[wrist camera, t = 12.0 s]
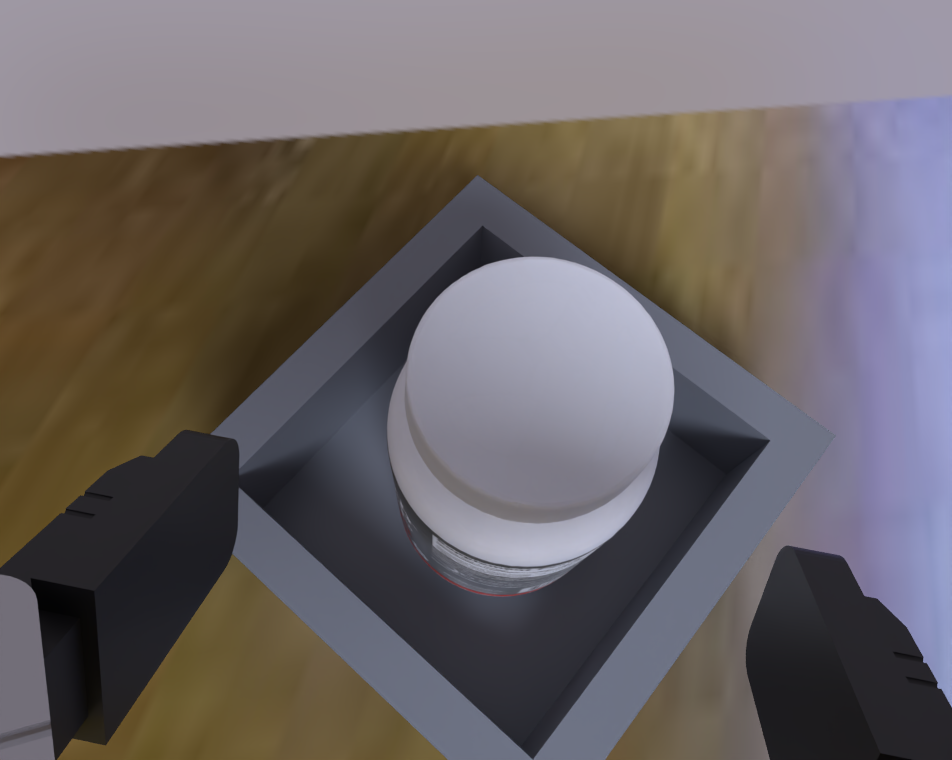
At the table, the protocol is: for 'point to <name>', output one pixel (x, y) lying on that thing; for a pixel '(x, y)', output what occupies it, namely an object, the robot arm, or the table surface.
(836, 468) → the table surface
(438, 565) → the pill bottle
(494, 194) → the bin
